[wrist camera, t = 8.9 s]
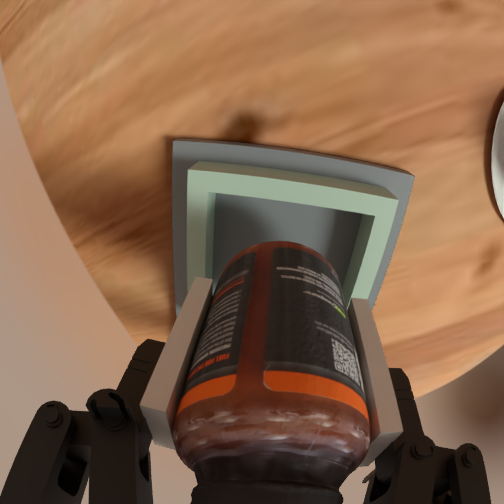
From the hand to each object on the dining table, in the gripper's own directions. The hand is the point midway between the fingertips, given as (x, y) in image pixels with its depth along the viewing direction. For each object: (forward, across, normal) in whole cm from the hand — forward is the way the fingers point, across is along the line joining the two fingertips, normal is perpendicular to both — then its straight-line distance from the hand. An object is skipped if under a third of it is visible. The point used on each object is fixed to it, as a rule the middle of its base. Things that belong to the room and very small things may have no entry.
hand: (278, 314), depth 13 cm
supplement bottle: (+2, 0, 0) cm, 2 cm away
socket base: (+6, 0, -3) cm, 7 cm away
